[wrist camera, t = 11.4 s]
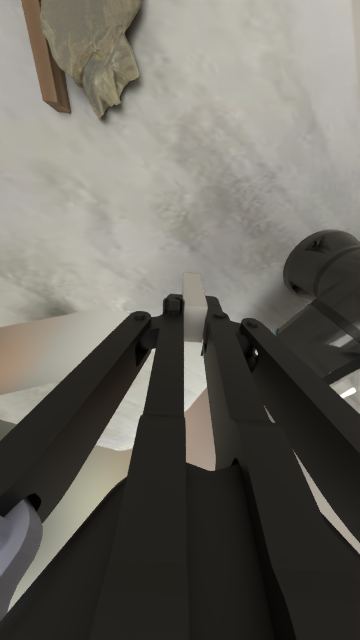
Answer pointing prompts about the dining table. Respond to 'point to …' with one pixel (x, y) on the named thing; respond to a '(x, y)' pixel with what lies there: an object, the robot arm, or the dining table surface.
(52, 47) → the jagged rock
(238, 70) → the dining table surface
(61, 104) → the brown wooden l-shaped piece
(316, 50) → the dining table surface
